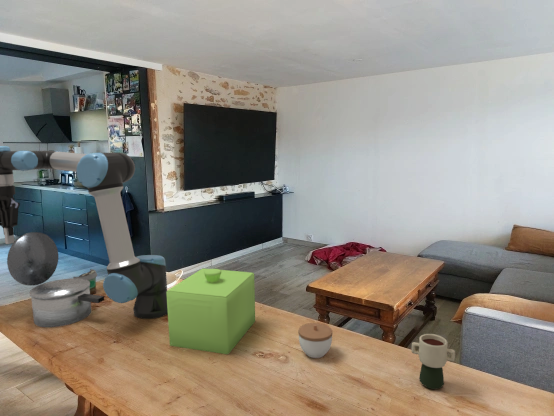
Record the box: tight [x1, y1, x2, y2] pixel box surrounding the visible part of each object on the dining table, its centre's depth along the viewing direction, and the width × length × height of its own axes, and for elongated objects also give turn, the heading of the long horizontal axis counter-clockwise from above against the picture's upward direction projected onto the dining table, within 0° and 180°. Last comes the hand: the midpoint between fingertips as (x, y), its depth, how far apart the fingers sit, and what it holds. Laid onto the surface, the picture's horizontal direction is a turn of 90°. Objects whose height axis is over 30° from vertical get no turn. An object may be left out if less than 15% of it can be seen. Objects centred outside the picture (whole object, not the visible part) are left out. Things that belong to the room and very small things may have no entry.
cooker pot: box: [29, 277, 105, 328], centre depth 151 cm, size 31×21×12 cm
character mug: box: [411, 333, 456, 390], centre depth 105 cm, size 11×7×13 cm, turn 64°
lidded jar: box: [298, 322, 333, 359], centre depth 122 cm, size 11×11×9 cm
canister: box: [166, 268, 256, 355], centre depth 136 cm, size 25×21×23 cm
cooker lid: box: [6, 231, 59, 287], centre depth 154 cm, size 21×21×4 cm
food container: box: [72, 268, 98, 295], centre depth 176 cm, size 12×6×10 cm, turn 168°
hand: (10, 243), depth 157 cm, fingers closed
